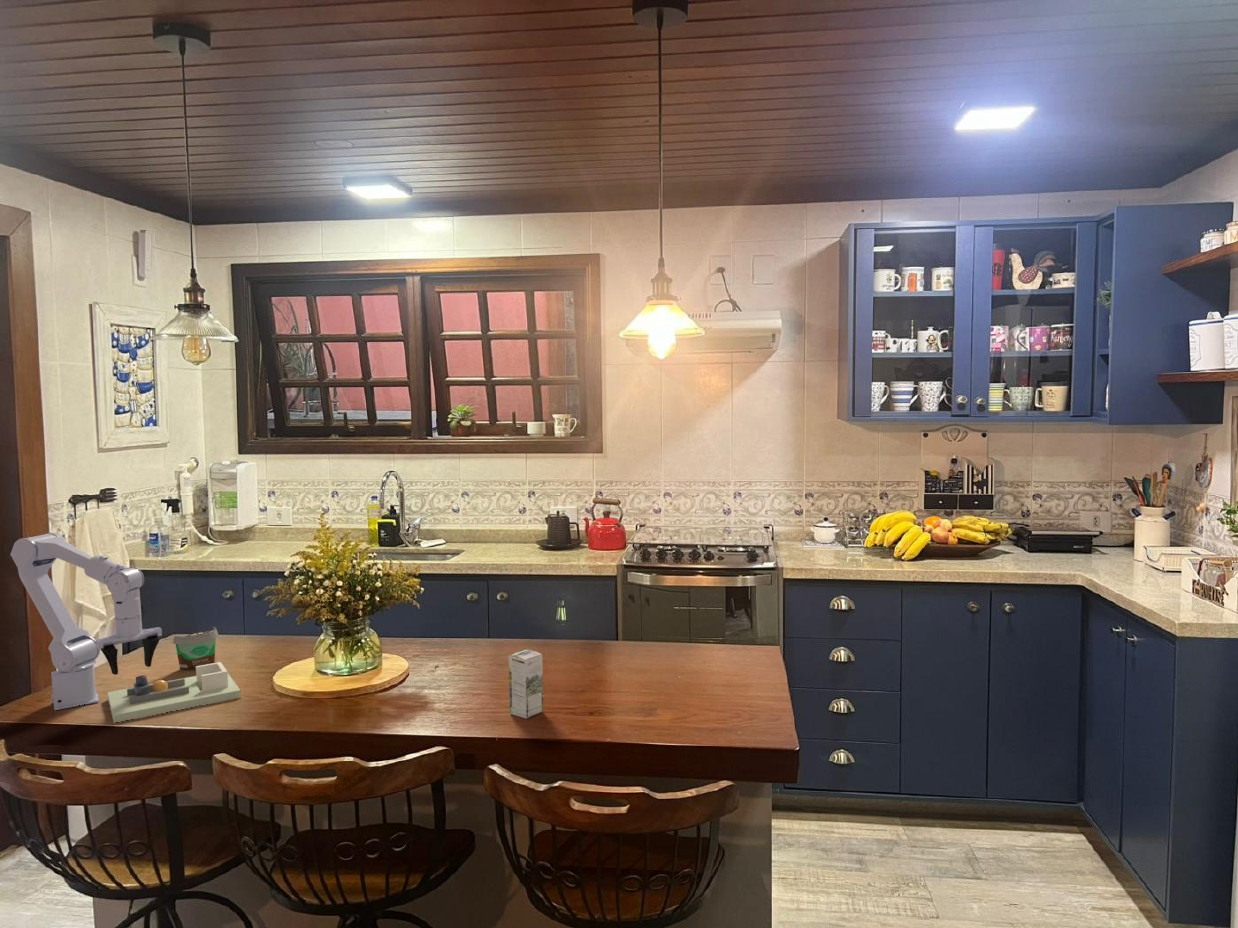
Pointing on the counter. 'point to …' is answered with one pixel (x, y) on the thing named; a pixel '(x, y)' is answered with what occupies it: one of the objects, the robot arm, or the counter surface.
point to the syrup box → (526, 683)
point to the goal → (212, 676)
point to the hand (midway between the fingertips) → (131, 669)
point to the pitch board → (167, 698)
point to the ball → (159, 686)
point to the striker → (141, 686)
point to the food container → (196, 649)
